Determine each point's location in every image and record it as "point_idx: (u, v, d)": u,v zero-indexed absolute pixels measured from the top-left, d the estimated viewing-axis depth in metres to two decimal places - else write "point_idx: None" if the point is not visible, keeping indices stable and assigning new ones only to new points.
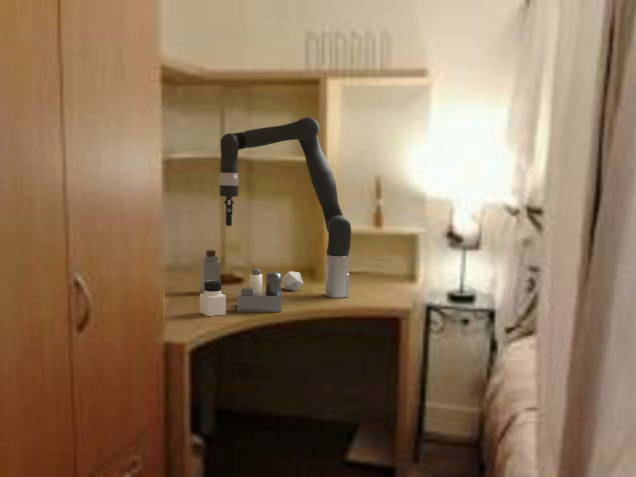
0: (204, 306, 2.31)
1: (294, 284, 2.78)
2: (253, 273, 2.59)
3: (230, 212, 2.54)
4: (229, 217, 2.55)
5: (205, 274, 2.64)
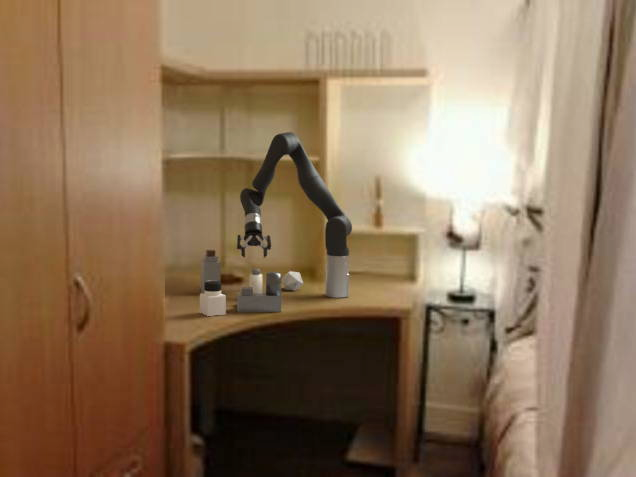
0: (204, 306, 2.31)
1: (294, 284, 2.78)
2: (253, 273, 2.59)
3: None
4: (241, 249, 2.72)
5: (205, 274, 2.64)
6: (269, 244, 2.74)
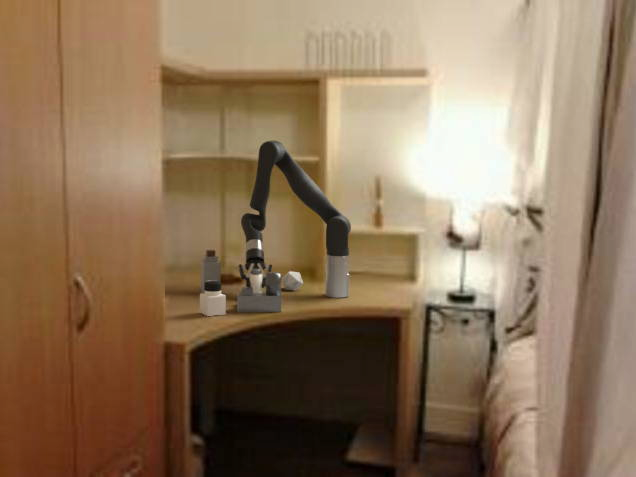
0: (204, 306, 2.31)
1: (294, 284, 2.78)
2: (253, 273, 2.59)
3: None
4: (246, 279, 2.60)
5: (205, 274, 2.64)
6: None
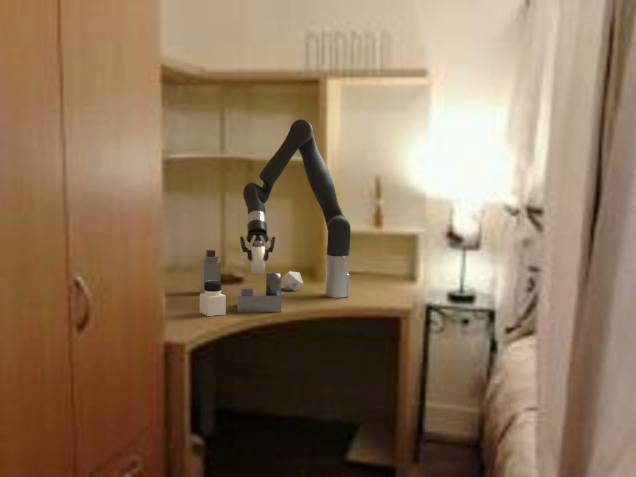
0: (204, 306, 2.31)
1: (294, 284, 2.78)
2: (255, 245, 2.45)
3: (243, 247, 2.47)
4: (247, 252, 2.47)
5: (205, 274, 2.64)
6: (271, 246, 2.48)
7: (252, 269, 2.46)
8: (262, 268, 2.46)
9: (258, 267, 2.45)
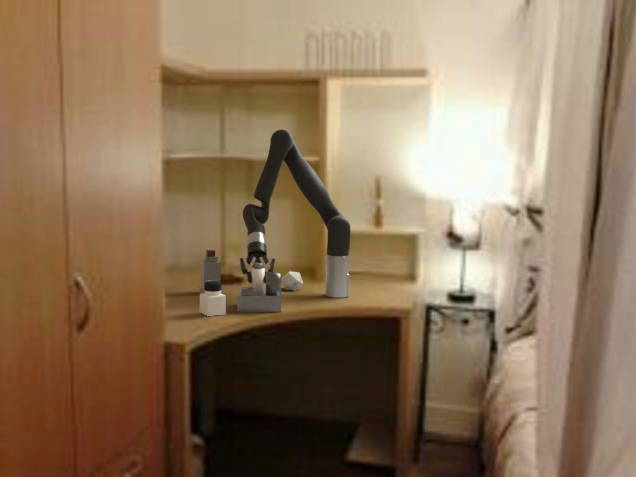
0: (204, 306, 2.31)
1: (294, 284, 2.78)
2: (255, 267, 2.46)
3: (243, 269, 2.48)
4: (247, 274, 2.47)
5: (205, 274, 2.64)
6: (271, 268, 2.49)
7: None
8: (262, 290, 2.46)
9: (258, 290, 2.45)
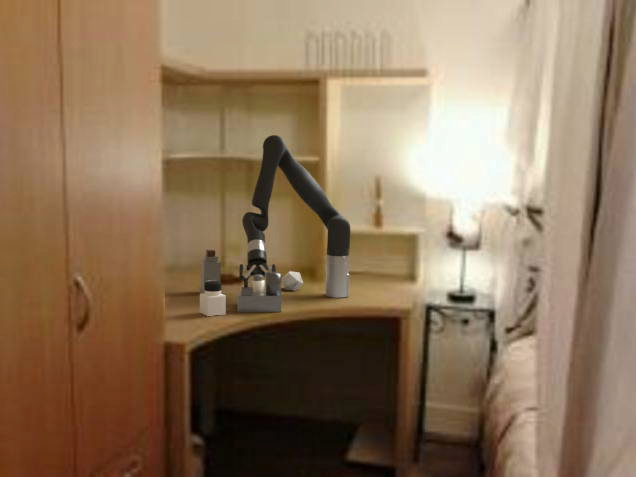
0: (204, 306, 2.31)
1: (294, 284, 2.78)
2: (255, 279, 2.46)
3: None
4: (244, 280, 2.48)
5: (205, 274, 2.64)
6: None
7: None
8: None
9: None
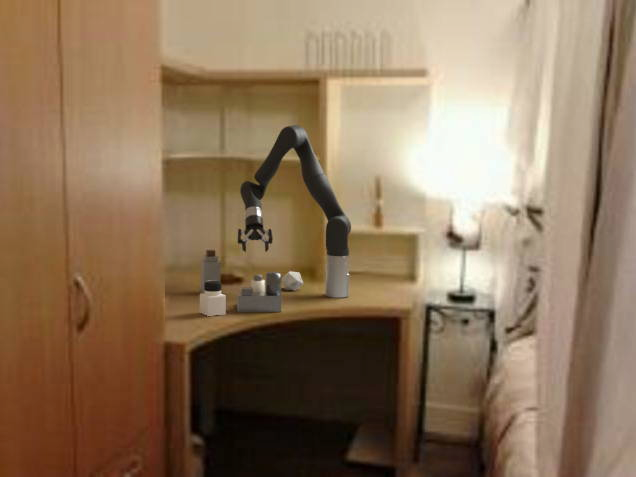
0: (204, 306, 2.31)
1: (294, 284, 2.78)
2: (255, 279, 2.46)
3: (238, 239, 2.66)
4: (242, 243, 2.65)
5: (205, 274, 2.64)
6: (270, 238, 2.67)
7: None
8: None
9: None
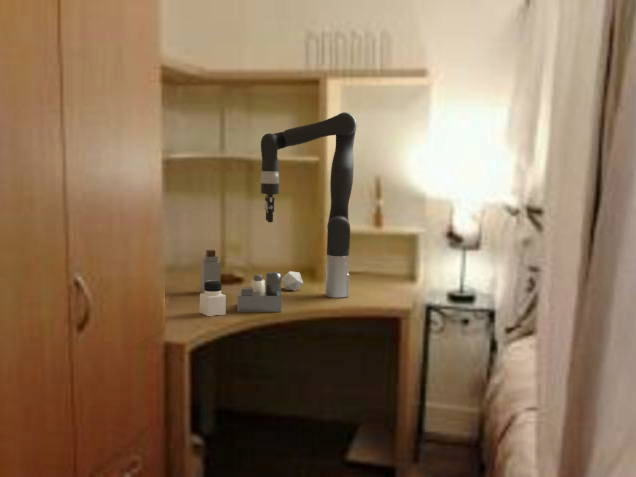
0: (204, 306, 2.31)
1: (294, 284, 2.78)
2: (255, 279, 2.46)
3: (272, 209, 2.64)
4: (271, 214, 2.66)
5: (205, 274, 2.64)
6: None
7: None
8: None
9: None
